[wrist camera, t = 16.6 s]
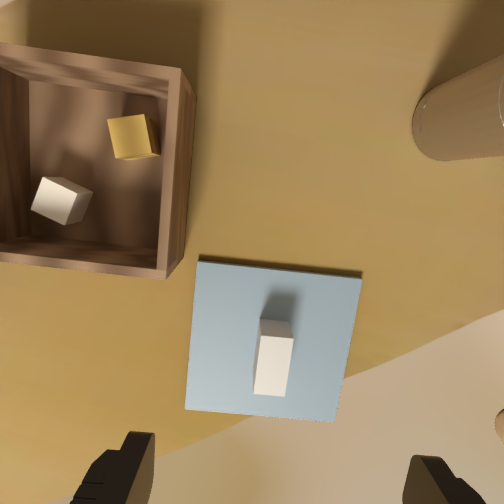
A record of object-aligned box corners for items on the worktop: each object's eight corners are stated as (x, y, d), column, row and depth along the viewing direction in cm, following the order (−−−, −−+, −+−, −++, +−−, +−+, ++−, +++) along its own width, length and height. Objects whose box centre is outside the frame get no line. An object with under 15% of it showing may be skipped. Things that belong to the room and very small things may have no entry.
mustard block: (154, 120, 39) (144, 114, 35) (160, 155, 40) (151, 152, 36) (120, 125, 39) (106, 119, 35) (128, 160, 40) (115, 158, 36)
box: (196, 96, 39) (181, 68, 30) (183, 257, 43) (165, 280, 34) (25, 72, 38) (-50, 35, 29) (28, 239, 42) (-36, 257, 33)
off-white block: (93, 192, 40) (77, 193, 37) (81, 221, 41) (64, 225, 37) (62, 177, 40) (42, 176, 36) (51, 206, 41) (30, 209, 37)
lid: (358, 276, 45) (377, 291, 39) (332, 414, 50) (344, 449, 43) (198, 258, 44) (191, 272, 38) (186, 401, 49) (177, 435, 42)
